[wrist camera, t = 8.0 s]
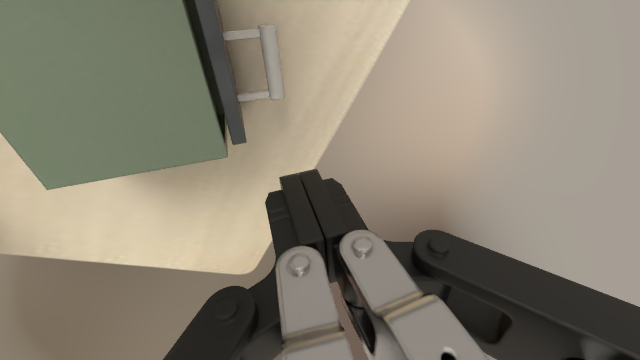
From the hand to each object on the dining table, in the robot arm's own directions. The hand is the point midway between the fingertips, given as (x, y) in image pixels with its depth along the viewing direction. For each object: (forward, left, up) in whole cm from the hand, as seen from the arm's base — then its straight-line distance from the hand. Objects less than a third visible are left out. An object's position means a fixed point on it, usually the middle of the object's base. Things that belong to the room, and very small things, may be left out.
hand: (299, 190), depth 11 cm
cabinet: (-1, -11, -22) cm, 25 cm away
